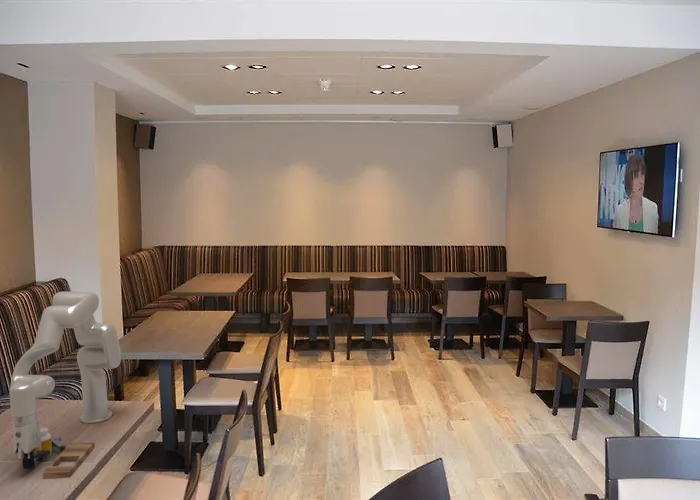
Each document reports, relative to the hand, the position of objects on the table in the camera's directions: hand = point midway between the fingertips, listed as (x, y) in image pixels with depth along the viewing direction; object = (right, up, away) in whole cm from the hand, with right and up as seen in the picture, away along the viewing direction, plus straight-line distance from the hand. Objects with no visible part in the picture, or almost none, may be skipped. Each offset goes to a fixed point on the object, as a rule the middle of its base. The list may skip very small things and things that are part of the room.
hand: (28, 467), depth 203 cm
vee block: (-1, +1, +16) cm, 16 cm away
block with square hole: (+12, 0, +6) cm, 13 cm away
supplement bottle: (-1, 0, +12) cm, 12 cm away
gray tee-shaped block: (0, 0, +5) cm, 5 cm away
